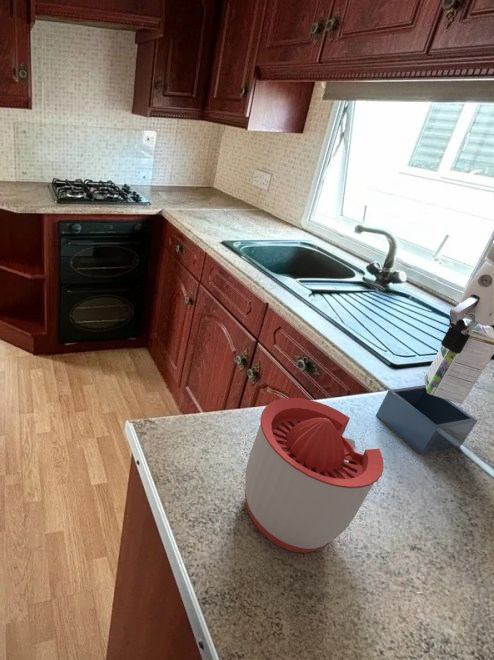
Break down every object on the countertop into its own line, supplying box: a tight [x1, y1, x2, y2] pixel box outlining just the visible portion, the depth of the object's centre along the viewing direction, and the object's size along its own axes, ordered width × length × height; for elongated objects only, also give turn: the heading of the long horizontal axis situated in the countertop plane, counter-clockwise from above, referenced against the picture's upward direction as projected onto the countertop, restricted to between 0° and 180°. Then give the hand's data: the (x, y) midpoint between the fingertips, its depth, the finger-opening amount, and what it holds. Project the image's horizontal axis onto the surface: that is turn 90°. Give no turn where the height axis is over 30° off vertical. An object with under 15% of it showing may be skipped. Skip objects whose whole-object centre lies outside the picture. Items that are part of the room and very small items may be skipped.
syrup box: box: [423, 318, 494, 405], centre depth 75 cm, size 6×6×14 cm
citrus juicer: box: [244, 397, 385, 554], centre depth 58 cm, size 16×17×20 cm
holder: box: [375, 384, 478, 456], centre depth 81 cm, size 11×11×7 cm
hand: (467, 346), depth 73 cm, fingers closed on syrup box, 8 cm apart
